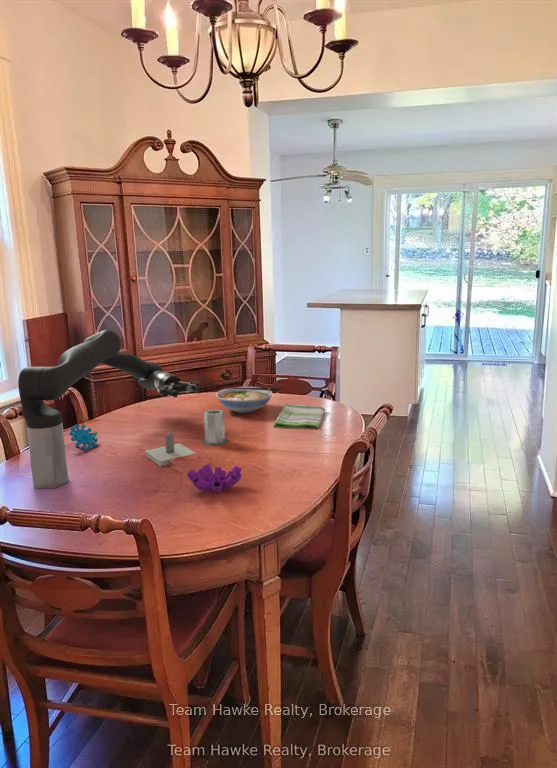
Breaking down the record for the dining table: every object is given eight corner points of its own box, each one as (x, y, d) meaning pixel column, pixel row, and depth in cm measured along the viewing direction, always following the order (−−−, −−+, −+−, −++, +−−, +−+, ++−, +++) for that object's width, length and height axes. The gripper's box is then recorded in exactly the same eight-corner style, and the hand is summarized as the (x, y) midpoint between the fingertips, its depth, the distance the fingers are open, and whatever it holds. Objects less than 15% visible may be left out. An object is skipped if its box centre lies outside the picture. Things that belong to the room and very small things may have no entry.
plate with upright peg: (160, 466, 175) (158, 441, 174) (145, 455, 185) (143, 431, 183) (196, 457, 182) (195, 434, 180) (179, 447, 192) (178, 424, 190)
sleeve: (211, 445, 189) (209, 415, 186) (202, 440, 193) (201, 411, 191) (227, 441, 192) (226, 412, 190) (218, 437, 197) (217, 408, 194)
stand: (227, 449, 189) (226, 427, 187) (199, 450, 189) (198, 428, 187) (230, 441, 197) (229, 419, 196) (203, 441, 197) (202, 420, 196)
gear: (80, 449, 186) (65, 425, 189) (71, 460, 189) (56, 435, 192) (106, 444, 196) (91, 420, 199) (97, 454, 198) (83, 431, 201)
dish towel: (325, 413, 231) (325, 404, 230) (319, 430, 209) (319, 421, 208) (283, 411, 234) (282, 403, 233) (272, 429, 212) (272, 419, 211)
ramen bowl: (204, 416, 226) (203, 396, 225) (225, 402, 248) (224, 383, 246) (266, 420, 220) (265, 400, 218) (282, 405, 241) (281, 386, 239)
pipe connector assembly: (240, 506, 155) (233, 488, 148) (186, 502, 158) (177, 484, 151) (247, 469, 162) (241, 450, 155) (196, 466, 165) (187, 447, 158)
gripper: (149, 376, 208) (168, 385, 195) (185, 371, 216) (205, 378, 203) (150, 396, 210) (169, 406, 197) (186, 390, 217) (206, 399, 204)
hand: (187, 392), depth 200 cm, fingers open, 8 cm apart
